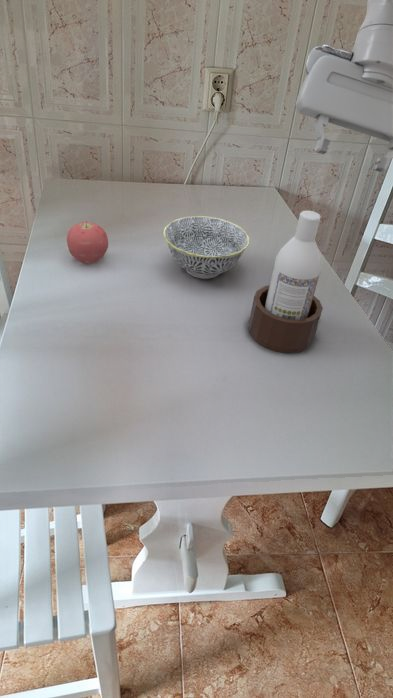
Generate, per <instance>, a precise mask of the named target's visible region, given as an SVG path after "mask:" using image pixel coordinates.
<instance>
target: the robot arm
mask: <svg viewBox="0 0 393 698" xmlns="http://www.w3.org/2000/svg"><path fill="white" fill-rule="evenodd" d="M305 72H306V75H305V77H304V80H303V82H302V85H301V87H300V90H299V92H298V94H297V98H296V100H295V108H296V111H297V113H298V114H300V115H303V116H307V117H310V118H313V119H315V120H314V124H313V128H314V133H315V138H316V143H315V147H314V152H315V153H317V154H320V155H325V154H327V152H328V150H329V146H330V143H331V140H330V139H328V138H326V134H325V127H326V126H328V124H331V125H335V126H337V127H341V128H345V129H348V130H351V131H354V132H358V133H361V134H364V135H366V136H370V137H373V138H377V139H379V140H383V141H386V142H388V144H387V147H386V149H387V150H389V151H388V152H387V153H385V155H384V156H382V155H381V156H379V157H376V158H375V161H374V164H373V168H372V170H374V171H376V172H379V173H385V172H386V171H387V170H388V168H389V165H390V161H391V160H392V159H393V0H367V2H366V13H365V17H364V20H363V22H362V24H361V25H360V28H359V29H358V31H357V34H356V38H355V41H354V45H353V46H352V50H351V51H348V50H345V49H343V48H337V47H334V46H332V45H330V44H326V43H322V45H317V46H315V47H313V48H311V50H310V51H309V52H308V55H307V59H306V62H305Z"/></svg>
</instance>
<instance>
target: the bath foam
mask: <svg viewBox="0 0 393 698" xmlns="http://www.w3.org/2000/svg"><path fill="white" fill-rule="evenodd" d="M321 219H322V217H321V214H320V213H319V212H316V211H313V210H302V211H301V212H300V213H299V216H298V221H297V224H296V229H295V233H294V236H293V237H291V238H290V239H289V240H288V241H286V243H285V244H284V245H283V246H282V247H281V248H280V250H279V252H278V253H277V255H276V258H275V260H274V263H273V266H272V267H273V268H272V272H271V277H270V281H269V285H270V286H269V285H268V286H269V290H268V295H267V299H266V304H265V309H266V310H267V311H269V312H270V313H272V314H274V315H276V316H279V317H283V318H286V319H297V320H300V319H305V318H307V317H308V313H309V310H310V306H311V303H312V299H313V296H315V292H316V289H317V285H318V282H319V278H320V275H321V271H322V255H321V252H320V249H319V246H318V244H317V242H316V237H317V234H318V230H319V227H320V223H321Z"/></svg>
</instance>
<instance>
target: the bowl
mask: <svg viewBox="0 0 393 698" xmlns="http://www.w3.org/2000/svg"><path fill="white" fill-rule="evenodd" d="M163 238H164V239H165V242H166V243H167V246H168V249H169V252H170V254H171V256H172V258H173V259H174V261H175V263H177V265H178V266H179V267H181V268H182V269H183V270H185V271H186V272H187V274H189V275H191V276H192V277H194V278H198V279H205V280H206V279H207V280H208V279H214V278H216V277H218V276H219V275H220V274H223V273H225V272H227V271H229V270H230V269H232V268H233V267H234V266H235V265H236V264H237V262H239V260H240V258H241V257H242V255H243V254H244V252H245V250H246V249H247V248H248V246H249V244H250V236H249V234H248V232H247V231H246V230H245V229H243V227H241V226H240V225H238V224H236V223H234V222H232V221H229V220H227V219H223V218H218V217H214V216H206V215H193V216H192V215H189V216H183V217H180V218H177V219H174V220H172V221H170V222H169V223H168V224H167V225H165V227H164V229H163Z"/></svg>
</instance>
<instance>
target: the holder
mask: <svg viewBox="0 0 393 698" xmlns="http://www.w3.org/2000/svg"><path fill="white" fill-rule="evenodd" d="M269 286H270V284H269V285H265V286H262V287H261V288H259V289H258V290H257V291H256V292H255V294H254V296H253V300H252V305H251V309H250V315H249V320H248V332H249V335H250V336H251V338H252V339H253V340H254V341H255V342H256V343H257V344H258V345H260V346H261V347H263V348H265V349H267V350H269V351H273V352H277V353H281V354H282V353H283V354H293V353H294V354H295V353H300V352H303V351H305V350H307V349H308V348H310V346H311V345H312V344H313V342H314V339H315V335H316V332H317V329H318V327H319V322H320V320H321V316H322V313H323V309H324V307H323V305H322V303H321V300H320V299H318V297H316V296H315V295H314V296H313V299H312V303H311V306H310V310H309V313H308V317H307V318H305V319H300V320H297V319H286V318H283V317H279V316H276V315H274V314H272V313H270V312H269V311H267V310H266V309H265V304H266V299H267V295H268V290H269Z"/></svg>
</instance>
